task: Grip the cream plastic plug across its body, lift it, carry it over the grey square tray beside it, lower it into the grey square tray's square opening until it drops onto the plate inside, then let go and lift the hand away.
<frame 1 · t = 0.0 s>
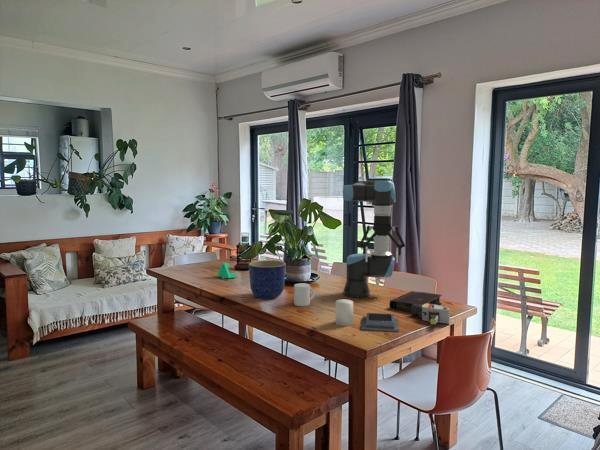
hand: (381, 262, 198), 28 cm above the table, tool pointing down, fingers open, 13 cm apart
mug: (304, 303, 232), on the table
film camera: (426, 321, 202), on the table, touching diary
planter: (267, 297, 246), on the table
plug: (344, 323, 200), on the table
dark piece: (244, 269, 326), on the table
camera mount: (227, 278, 297), on the table
grey square tray: (379, 324, 197), on the table
diary: (416, 306, 227), on the table, touching film camera
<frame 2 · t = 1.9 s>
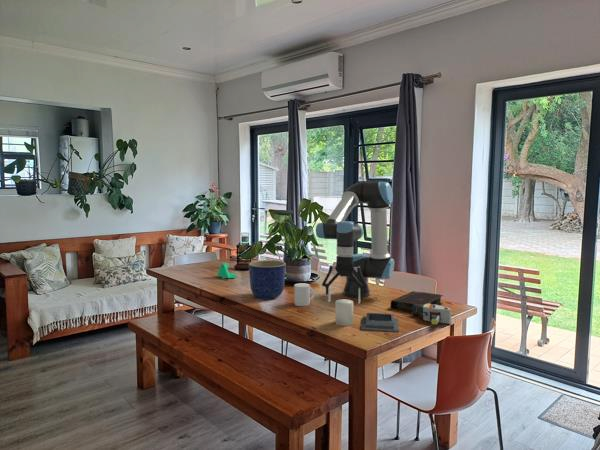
hand: (344, 302, 199), 10 cm above the table, tool pointing down, fingers open, 13 cm apart
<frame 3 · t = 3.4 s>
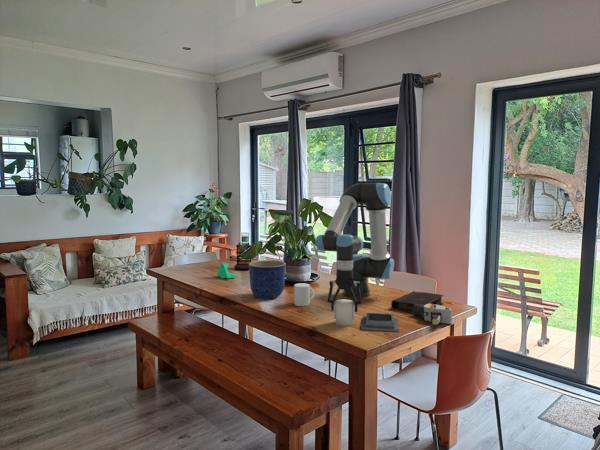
hand: (344, 318, 200), 2 cm above the table, tool pointing down, fingers closed on plug, 8 cm apart
plug: (344, 323, 200), on the table, touching gripper
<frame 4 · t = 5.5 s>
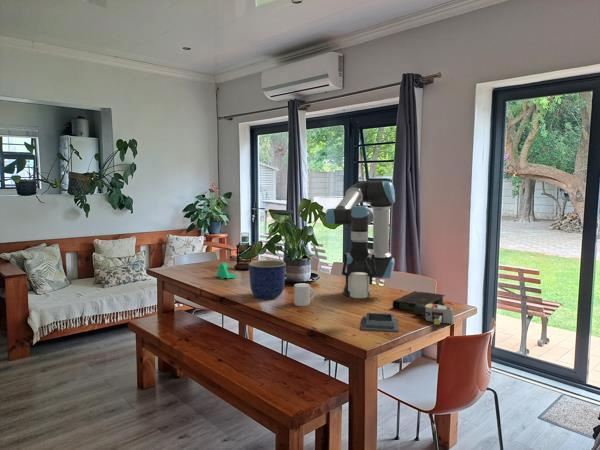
hand: (358, 290, 197), 15 cm above the table, tool pointing down, fingers closed on plug, 8 cm apart
plug: (358, 295, 197), point 13 cm above the table, touching gripper
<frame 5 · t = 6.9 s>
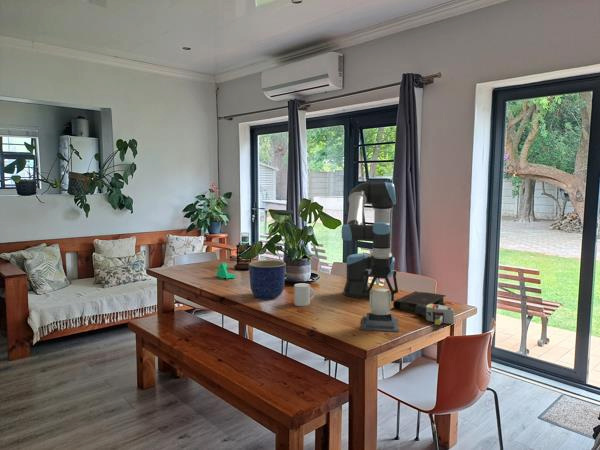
hand: (380, 307, 196), 8 cm above the table, tool pointing down, fingers closed on plug, 8 cm apart
plug: (380, 312, 196), point 6 cm above the table, touching gripper
when the fingers open (5 cm above the table, at t = 7.9 s): plug drops 2 cm, resting on grey square tray.
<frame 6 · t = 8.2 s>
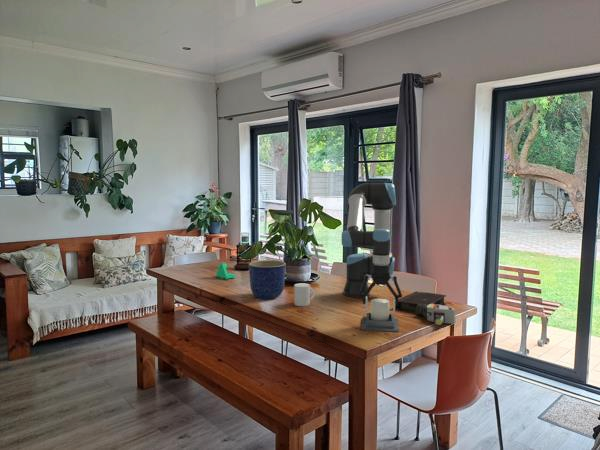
hand: (380, 311, 196), 6 cm above the table, tool pointing down, fingers open, 11 cm apart
plug: (379, 322, 197), point 1 cm above the table, touching grey square tray
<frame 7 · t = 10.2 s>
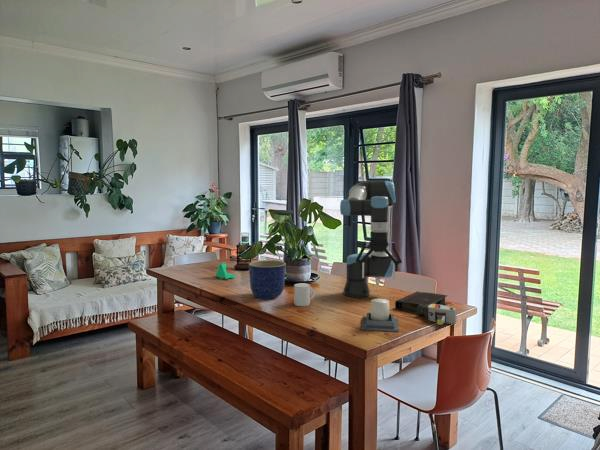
hand: (378, 278, 197), 21 cm above the table, tool pointing down, fingers open, 13 cm apart
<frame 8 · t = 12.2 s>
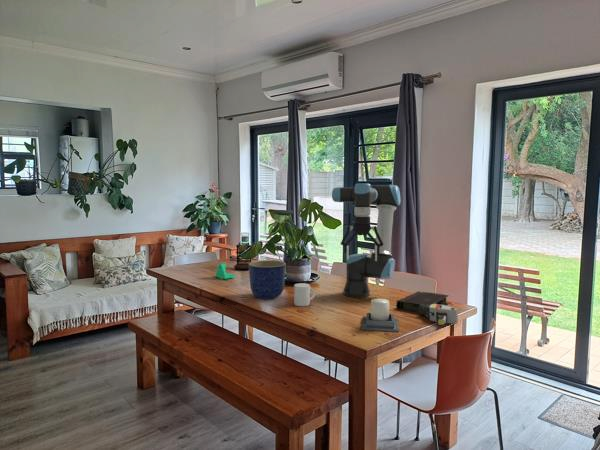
hand: (361, 260, 211), 27 cm above the table, tool pointing down, fingers open, 13 cm apart
at the end: plug 0.1 cm off-centre on the grey square tray, point 1.0 cm above the grey square tray's base; plug tilted 0°; the gripper is holding nothing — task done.
